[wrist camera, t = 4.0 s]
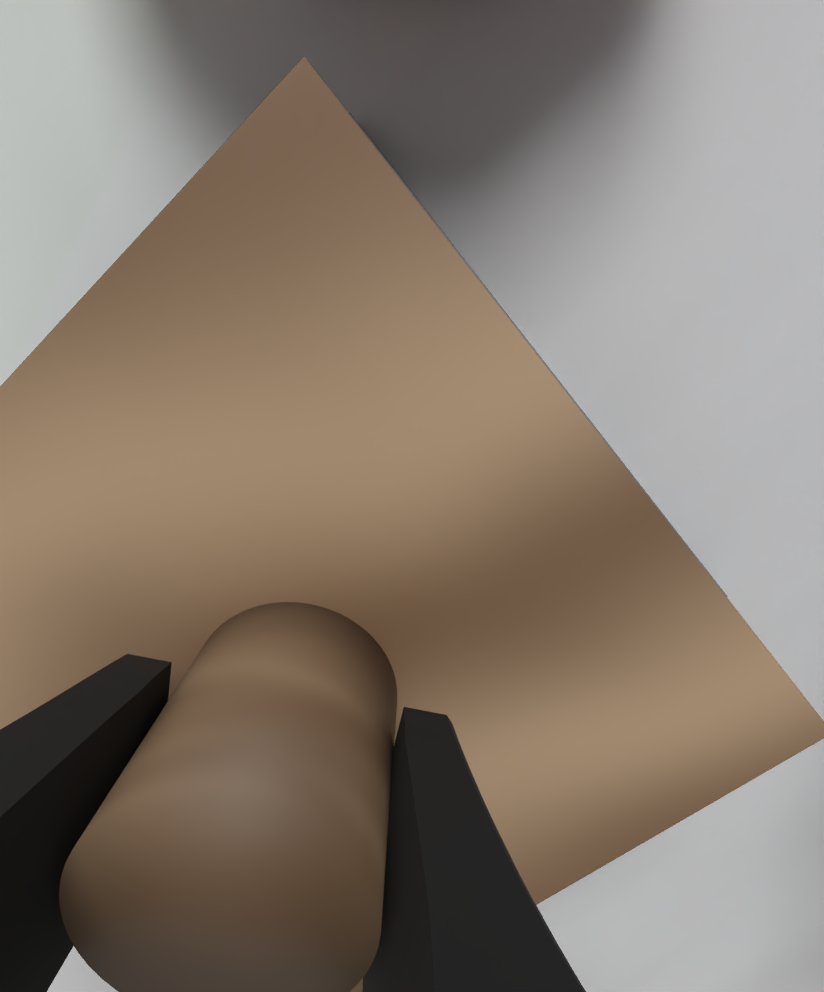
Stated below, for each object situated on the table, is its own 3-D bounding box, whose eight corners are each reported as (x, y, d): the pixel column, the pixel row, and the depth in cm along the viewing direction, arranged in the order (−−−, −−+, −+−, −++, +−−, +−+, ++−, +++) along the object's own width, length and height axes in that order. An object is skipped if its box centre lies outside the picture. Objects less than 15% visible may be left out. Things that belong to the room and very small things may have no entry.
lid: (808, 707, 10) (1068, 982, 6) (297, 1012, 13) (237, 1345, 9) (313, 75, 7) (177, -203, 3) (-206, 631, 10) (-636, 857, 6)
